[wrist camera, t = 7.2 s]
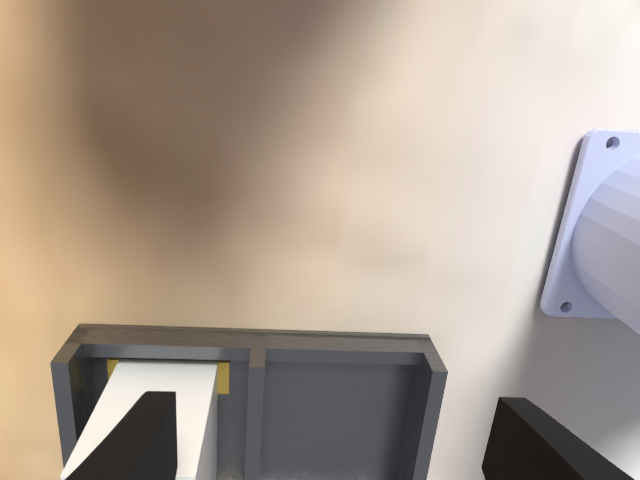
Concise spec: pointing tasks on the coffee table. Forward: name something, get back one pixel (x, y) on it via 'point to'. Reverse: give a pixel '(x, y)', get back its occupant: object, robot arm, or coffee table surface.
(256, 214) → the coffee table surface
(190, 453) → the white and grey box
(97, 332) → the rack
